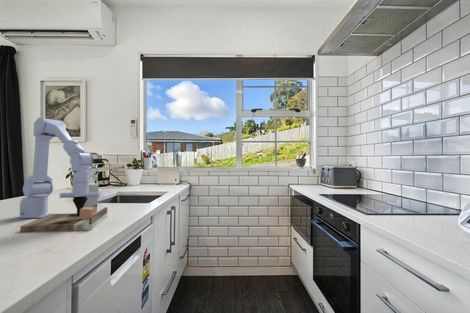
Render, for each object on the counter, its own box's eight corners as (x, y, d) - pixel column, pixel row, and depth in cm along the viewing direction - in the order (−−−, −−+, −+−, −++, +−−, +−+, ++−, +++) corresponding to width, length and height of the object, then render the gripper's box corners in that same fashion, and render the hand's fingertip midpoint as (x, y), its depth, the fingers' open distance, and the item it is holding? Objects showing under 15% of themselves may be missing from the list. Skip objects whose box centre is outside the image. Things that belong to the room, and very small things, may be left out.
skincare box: (76, 217, 117) (77, 184, 118) (77, 215, 123) (78, 183, 123) (97, 216, 121) (98, 183, 122) (97, 213, 127) (98, 182, 127)
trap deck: (20, 232, 93) (20, 219, 93) (49, 218, 114) (50, 208, 114) (91, 229, 98) (92, 217, 98) (107, 217, 119) (107, 207, 119)
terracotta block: (79, 219, 105) (80, 208, 105) (82, 216, 109) (83, 207, 109) (89, 219, 106) (90, 209, 106) (93, 217, 110) (94, 207, 110)
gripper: (56, 182, 102) (55, 218, 101) (97, 182, 105) (96, 217, 104) (64, 181, 108) (63, 214, 108) (102, 181, 112) (101, 213, 111)
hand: (79, 215), depth 107 cm, fingers closed, pressing on terracotta block
